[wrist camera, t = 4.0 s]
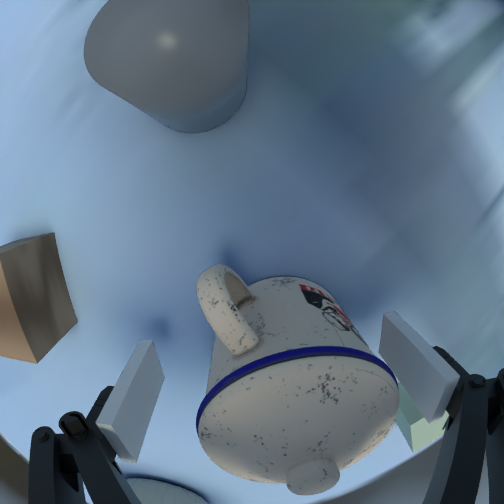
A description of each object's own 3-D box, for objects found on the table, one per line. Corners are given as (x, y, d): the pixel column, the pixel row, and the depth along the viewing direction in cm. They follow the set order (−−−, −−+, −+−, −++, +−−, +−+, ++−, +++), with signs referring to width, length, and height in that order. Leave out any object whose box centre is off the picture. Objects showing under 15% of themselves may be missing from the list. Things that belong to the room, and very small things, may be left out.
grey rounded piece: (147, 56, 13) (93, -7, 6) (241, 40, 13) (241, -41, 6) (151, 141, 15) (80, 116, 7) (251, 126, 15) (258, 79, 7)
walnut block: (15, 240, 16) (-36, 261, 10) (54, 232, 16) (-1, 254, 10) (37, 320, 18) (-3, 355, 12) (78, 321, 18) (37, 363, 12)
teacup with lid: (362, 343, 19) (436, 463, 8) (258, 399, 20) (269, 531, 9) (281, 201, 16) (365, 253, 5) (158, 281, 17) (66, 413, 6)
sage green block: (387, 388, 20) (410, 425, 16) (440, 355, 20) (469, 385, 15) (395, 420, 22) (413, 452, 17) (441, 391, 21) (464, 419, 17)
